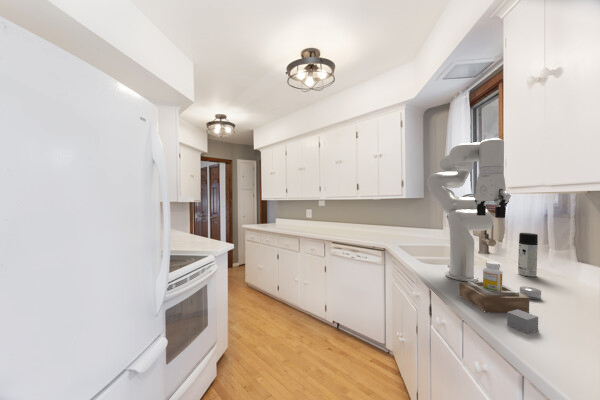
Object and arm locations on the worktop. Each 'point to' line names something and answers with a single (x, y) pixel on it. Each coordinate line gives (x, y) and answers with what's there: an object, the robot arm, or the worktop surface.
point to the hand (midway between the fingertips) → (490, 216)
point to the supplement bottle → (492, 276)
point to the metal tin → (531, 293)
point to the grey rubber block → (522, 321)
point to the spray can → (528, 254)
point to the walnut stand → (493, 298)
